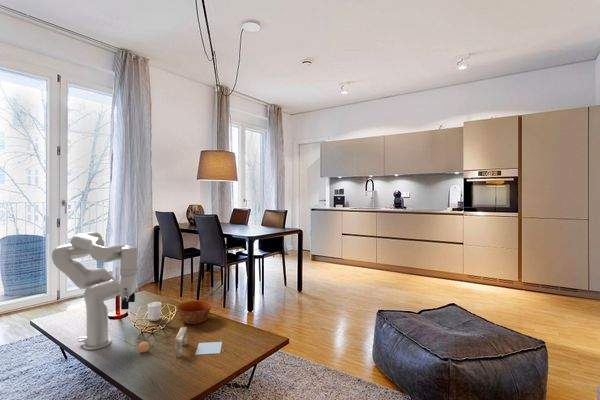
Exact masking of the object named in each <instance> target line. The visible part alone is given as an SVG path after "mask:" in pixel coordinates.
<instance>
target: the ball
mask: <svg viewBox="0 0 600 400" xmlns="http://www.w3.org/2000/svg"><path fill="white" fill-rule="evenodd" d="M149 348H150V343H149V342H147V341H141V342H140V343H139V344H138V347H137V350H138V352H140V353H142V354H143V353H146V352H147V351H149Z"/></svg>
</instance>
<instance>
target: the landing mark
mask: <svg viewBox="0 0 600 400" xmlns="http://www.w3.org/2000/svg"><path fill="white" fill-rule="evenodd" d="M222 345H223V341H215V342H214V341H211V342H199V343H198V345H197V348H196V351H195V353H194V354H195V356H199V355H213V354H214V355H215V354H221V351H222Z"/></svg>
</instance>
